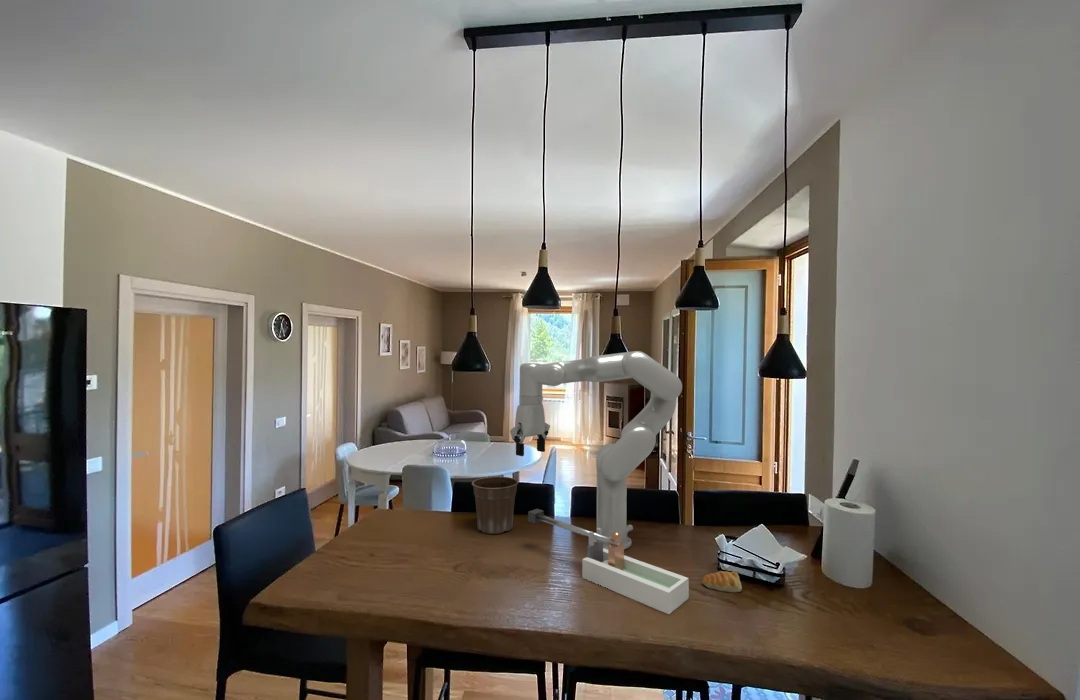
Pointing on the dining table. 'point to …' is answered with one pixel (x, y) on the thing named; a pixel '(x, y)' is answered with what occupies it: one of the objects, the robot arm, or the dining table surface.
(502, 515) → the plant pot
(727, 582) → the pastry
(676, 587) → the foosball box
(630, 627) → the dining table surface
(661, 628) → the dining table surface
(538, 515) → the kicker rod
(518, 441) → the robot arm
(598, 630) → the dining table surface
